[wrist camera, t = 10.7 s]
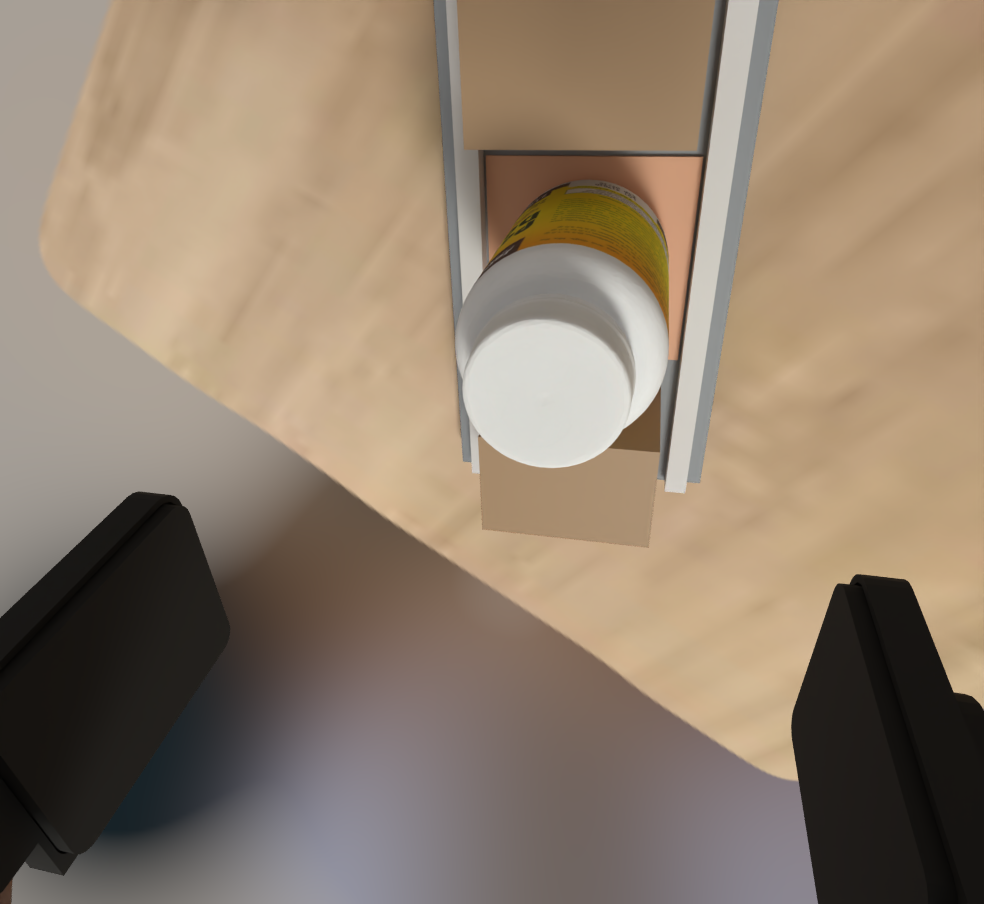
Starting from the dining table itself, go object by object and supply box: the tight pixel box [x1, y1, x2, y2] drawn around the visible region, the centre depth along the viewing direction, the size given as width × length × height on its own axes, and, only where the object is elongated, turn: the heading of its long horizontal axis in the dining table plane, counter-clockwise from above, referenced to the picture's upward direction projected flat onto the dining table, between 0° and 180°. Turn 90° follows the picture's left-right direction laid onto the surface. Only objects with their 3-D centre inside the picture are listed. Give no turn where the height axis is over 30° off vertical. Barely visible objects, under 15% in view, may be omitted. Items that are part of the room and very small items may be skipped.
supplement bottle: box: [455, 180, 669, 468], centre depth 20 cm, size 6×6×10 cm
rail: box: [434, 0, 779, 548], centre depth 23 cm, size 18×10×6 cm, turn 2°
